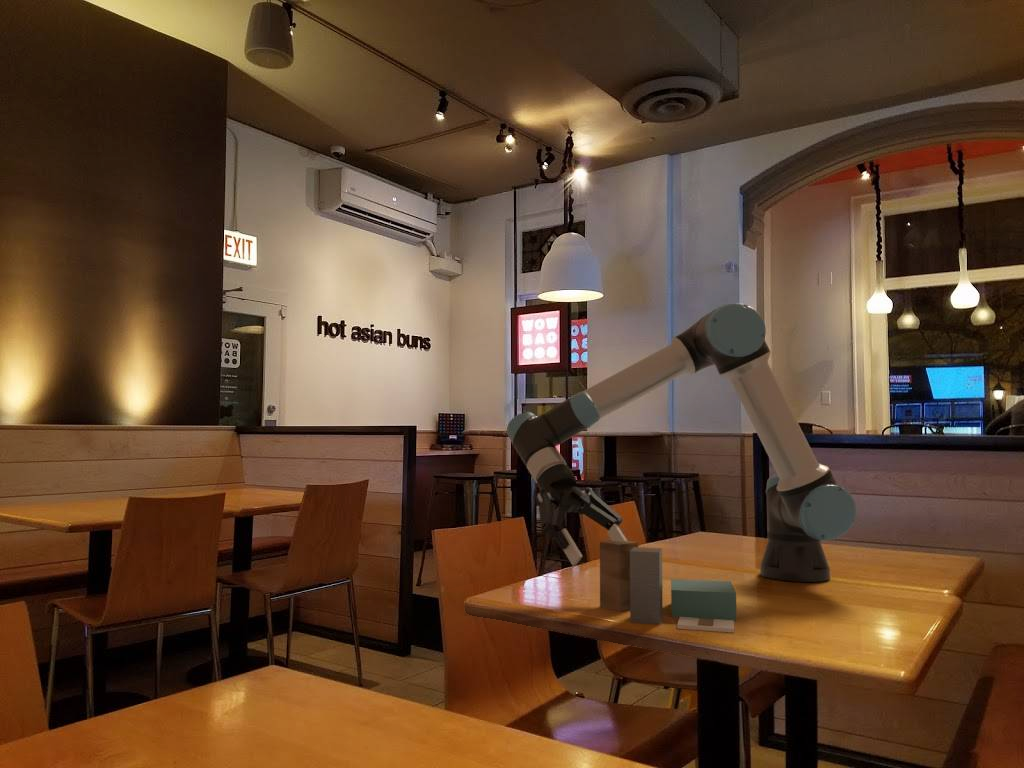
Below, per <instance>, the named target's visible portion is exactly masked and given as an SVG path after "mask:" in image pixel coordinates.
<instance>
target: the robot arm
mask: <svg viewBox="0 0 1024 768" xmlns="http://www.w3.org/2000/svg"><path fill="white" fill-rule="evenodd" d="M766 332H767V331H766V324H765V321H764V319H763V316H761V314H760V313H759V311H757V310H756V309H755V308H754V307H752V306H750V305H748V304H744V303H742V302H741V303H740V302H731V303H727V304H722V305H720V306H717V308H715V309H713V310H712V311H710V312H709V313H707V314H706V315H704V316H702V317H701V318H700V319H699V320H698V321H696V322H695V323H694V324H693V325H691V326H689V328H687V329H685V330H684V331H683V332H681V333H679V334H678V335H676V336H674V337H672V339H671V342H670V344H668V345H666V346H665V347H664V346H663V348H660V349H659V350H657V351H655V352H654V353H652V354H651V353H650V355H648V356H645V357H644V358H642V359H641V360H638V361H637V362H635V363H633V364H631V365H629V366H627V367H625V368H623V369H621V370H620V371H618V372H617V373H615V374H612V375H611V376H609V377H607V378H605V379H603V380H602V381H599V382H598V383H596V384H593V385H592V386H591V387H588V388H587V389H585V390H583V391H580V392H578V393H576V394H573V395H571V396H569V397H568V398H567V399H566V400H563V401H561V402H560V403H558V404H556V405H554V406H553V407H552V408H550V409H549V410H547V411H546V412H544V413H542V414H540V415H538V416H537V415H536V414H534V413H533V412H529V411H525V412H523V413H518V414H516V415H515V416H513V417H512V418H511V420H510V421H508V423H507V426H506V434H507V436H508V438H509V440H510V442H511V444H512V447H514V450H515V451H516V452H517V454H518V456H519V457H520V460H521V461H522V462H523V464H524V465H525V467H526V469H527V470H528V472H529V474H530V475H531V477H532V479H533V480H534V482H535V483H536V485H537V488H538V489H539V493H538V494H537V495H536V497H535V500H536V503H537V505H538V511H539V522H540V531H541V534H542V535H543V536H547V535H548V536H547V537H548V539H549V540H551V541H554V540H555V541H556V543H557V546H558V547H559V549H561V550H563V552H564V554H565V555H566V557H567V559H568V560H569V562H570V564H571V565H572V567H574V566H577V564H578V563H579V562H580V561H581V560H582V558H583V554H582V552H581V550H580V549H579V548H578V546H577V544H576V543H575V541H574V539H573V538H572V536H571V535H570V533H569V531H568V530H567V528H562V527H563V524H564V523H563V522H564V518H565V517H564V516H565V513H566V514H568V513H578V514H579V515H581V516H582V515H585V516H586V517H587V518H589V519H590V520H592V521H593V522H595V523H597V525H600V526H601V527H603V528H604V529H606V530H607V532H606V534H607V535H608V536H609V539H610V540H625V541H628V539H627V536H626V534H625V533H624V532H623V530H622V528H621V527H620V525H621V524H622V522H623V521H624V518H623V517H622V516H621V514H619V513H618V512H616V511H615V510H614V509H613V508H611V507H610V506H609V505H608V504H607V503H606V502H604V501H603V500H602V499H601V498H600V497H599V496H598V495H596V494H595V491H594V490H593V489H592V488H591V487H589V486H588V487H586V488H585V490H581V489H580V488H578V486H577V478H576V476H575V475H574V473H573V471H572V470H571V468H570V467H569V466H568V465H567V462H566V460H565V459H564V457H563V456H562V454H561V453H560V451H559V450H558V448H557V447H558V446H560V445H562V443H565V442H566V441H568V440H569V439H571V438H572V437H574V436H577V435H578V434H580V433H581V432H583V431H585V430H587V429H590V428H591V427H592V426H593V425H595V424H596V423H598V422H599V421H600V419H602V418H604V417H606V416H608V415H610V414H611V413H614V412H615V411H617V410H619V409H621V408H622V407H623V408H624V407H625V406H626V405H629V404H630V403H632V402H634V401H636V400H638V399H640V398H642V397H644V396H645V395H647V394H648V393H650V392H653V391H654V390H656V389H658V388H660V387H662V386H663V385H666V384H667V383H670V382H672V381H673V380H675V379H676V378H679V377H681V376H683V375H685V374H686V373H687V374H690V375H694V374H696V373H697V372H699V371H701V370H703V369H705V368H708V367H712V366H715V368H716V370H717V371H718V374H719V375H720V377H723V378H726V379H728V380H730V382H731V384H732V386H733V388H734V390H735V392H736V394H737V397H739V398H738V399H739V400H740V402H741V405H742V406H743V408H744V410H745V412H746V414H747V416H748V418H749V420H750V422H751V424H752V426H753V428H754V430H755V432H756V434H757V436H758V438H759V440H760V442H761V445H762V447H763V448H764V451H765V453H766V454H767V456H768V458H769V460H770V463H771V464H772V466H773V468H774V471H775V472H776V474H777V475H773V476H770V477H769V478H768V479H767V481H766V489H765V494H766V498H765V499H766V528H767V531H766V533H767V542H766V545H765V548H764V552H763V555H762V558H761V561H760V566H759V567H760V568H759V571H760V572H759V574H760V576H762V577H765V578H768V579H772V580H779V581H787V582H798V583H799V582H800V583H802V582H803V583H814V582H815V583H817V582H818V583H819V582H825V581H829V580H831V568H830V566H829V563H828V560H827V557H826V554H825V551H824V548H823V546H822V540H823V541H824V540H825V541H833V540H836V539H840V538H841V537H843V536H844V535H846V534H847V533H848V532H850V530H851V529H852V527H853V526H854V523H855V520H856V518H857V506H856V505H857V504H856V503H855V500H854V497H853V496H852V494H851V493H850V492H849V491H848V490H847V489H846V488H844V487H843V486H841V485H838V483H837V481H836V479H835V477H834V475H833V473H832V471H831V469H830V467H829V466H827V465H824V464H822V463H819V462H818V460H817V458H816V456H815V454H814V452H813V450H812V448H811V446H810V444H809V442H808V440H807V438H806V436H805V434H804V432H803V430H802V428H801V426H800V424H799V422H798V420H797V418H796V415H795V414H794V412H793V410H792V408H791V406H790V404H789V402H788V400H787V398H786V396H785V394H784V392H783V391H782V388H781V386H780V385H779V383H778V381H777V378H776V376H775V374H774V372H773V371H772V368H771V366H770V364H769V362H768V361H769V358H770V357H771V353H772V352H771V350H770V348H769V345H768V344H767V341H766V340H765V338H766ZM583 503H584V504H583ZM551 504H552V505H553V506H554V508H553V515H552V506H551Z"/></svg>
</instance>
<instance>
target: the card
mask: <svg viewBox="0 0 1024 768" xmlns="http://www.w3.org/2000/svg"><path fill="white" fill-rule="evenodd" d="M676 628H677V629H680V630H693V631H705V632H706V631H708V632H716V633H717V632H719V633H731V634H732V633H733V634H735V620H720V619H707V618H691V617H680V618H678V622H677V627H676Z"/></svg>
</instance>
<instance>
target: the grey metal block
mask: <svg viewBox="0 0 1024 768" xmlns="http://www.w3.org/2000/svg"><path fill="white" fill-rule="evenodd" d="M663 602H664V601H663V548H662V547H661V548H659V547H640V546H638V547H633V548H632V549H631V551H630V610H629V611H630V612H629V613H630V614H629V615H630V616H629V618H630V619H629V621H630V623H633V624H648V625H661V623H662V620H663V616H664V613H663V611H664V610H663V606H664V605H663V604H664V603H663Z"/></svg>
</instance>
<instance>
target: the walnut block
mask: <svg viewBox="0 0 1024 768" xmlns="http://www.w3.org/2000/svg"><path fill="white" fill-rule="evenodd" d="M633 547H639V542H637V541H630V540H627V541H625V540H611V539H610V540H603V541H602V540H601V541H599V607H600V608H604V609H607V610H612V611H616V612H620V613H621V612H626V611H630V551H631V549H632V548H633Z"/></svg>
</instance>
